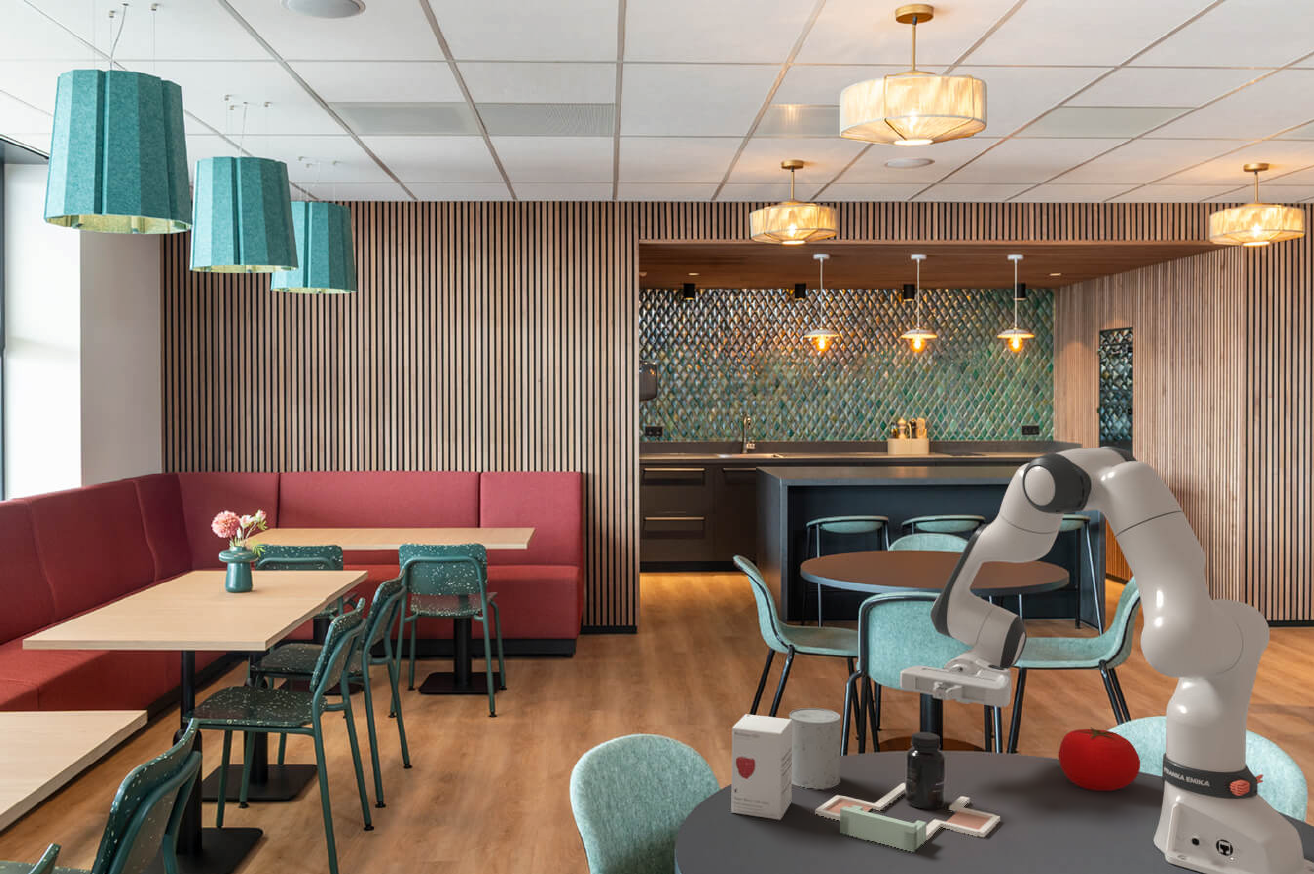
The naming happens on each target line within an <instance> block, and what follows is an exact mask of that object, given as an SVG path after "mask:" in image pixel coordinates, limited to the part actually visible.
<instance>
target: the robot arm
mask: <svg viewBox="0 0 1314 874" xmlns="http://www.w3.org/2000/svg"><path fill="white" fill-rule="evenodd" d="M1091 511H1099V512H1100V513H1101V514H1102V515H1103V516H1104V518H1105V519H1106V520H1107V522H1108V525H1109V526H1110V530H1111V531H1112V533H1113V535H1114V538H1115V539H1116V542H1117V544H1118V546H1119V548H1120V550H1121V552H1122V554H1123V555H1124V558H1125V561H1126V563H1127V564H1128V568H1129V570H1130V572H1131V573H1132V576H1133V578H1134V580H1135V584H1136V585H1137V586H1136V587H1137V589H1138V594H1139V598H1140V604H1141V608H1142V613H1143V628H1142V632H1141V634H1140V648H1141V652H1142V654H1143V657H1144V659H1145V660H1146V662H1147V663H1148V664H1149V665H1150V667H1151V668H1153V670H1155V671H1156V672H1158V673H1159V674H1161V675H1163V676H1166V677H1169V678H1173V679H1178V680H1177V684H1176V687H1175V689H1174V692H1173V694H1172V696H1171V698H1170V699H1169V701H1168V702H1167V705H1166V716H1165V717H1166V719H1165V720H1166V721H1165V722H1166V723H1165V725H1166V726H1165V730H1166V731H1165V753H1163V757H1162V784H1163V788H1164V790H1163V797H1162V806H1161V811H1160V817H1159V821H1158V825H1157V828H1156V831H1155V834H1154V836H1153V843H1154V845H1155V846H1156V847H1157V848H1158V849H1159V850H1160V851H1161V852H1162V853H1163V854H1164V858H1165V861H1166V862H1168V863H1169V864H1172V865H1175V866H1177V867H1178V866H1179V867H1182V868H1186V869H1188V870H1193V871H1197V872H1199V873H1201V874H1202V873H1203V874H1314V862H1312V861H1310V860H1308V859H1306V858H1305V857H1304V851H1303V844H1302V840H1301V838H1300V834H1299V831H1298V830H1297V828H1296V827H1295V826H1294V825H1293V824H1291V823H1290V822H1289V821H1288V820H1287V819H1286V818H1285V817H1284V816H1283V815H1281V813H1279V811H1277V810H1276V809H1275V808H1274V807H1273V806H1272V805H1271V804H1270V803H1269V802H1267V800H1266V799H1264V798H1263V797H1262V795H1260V793H1258V791H1259V790H1258V789H1259V787H1258V784H1261V783H1263V782H1264V780H1263V777H1264V775H1263V774H1261V773H1260V774H1258V775H1256V776H1255V774H1254V773H1252V771H1251V770H1250V767H1249V766H1248V764H1246V761H1247V759H1246V757H1247V753H1246V752H1247V724H1248V723H1247V721H1248V712H1249V707H1250V702H1251V698H1252V693H1253V689H1254V685H1255V681H1256V676H1257V673H1258V672H1257V671H1258V668H1259V664H1260V661H1261V658H1262V656H1263V654H1264V652H1265V651H1266V649H1267V647H1268V645H1269V642H1270V638H1271V637H1270V636H1271V633H1270V632H1271V631H1270V628H1269V624H1268V622H1267V620H1266V618H1265V617H1264V615H1263V614H1262V613H1261V612H1260V611H1259V610H1258V609H1257V608H1256V607H1254V606H1252V605H1250V604H1248V603H1246V602H1243V601H1237V600H1233V599H1226V598H1225V599H1224V598H1220V599H1219V598H1217V599H1212V598H1211V597H1210V593H1209V589H1208V585H1207V580H1206V574H1205V567H1206V563H1207V557H1206V554H1205V553H1206V552H1205V551H1204V549H1203V547H1202V546H1201V543H1200V542H1199V540H1198V538H1197V536H1196V533H1195V532H1194V530H1193V528H1192V526H1191V524H1190V523H1189V520H1188V518H1187V517H1186V515H1185V512H1184V511H1183V509H1182V507H1181V505H1180V504H1179V502H1178V500H1177V498H1176V497H1175V495H1174V494H1173V492H1172V491H1171V489H1170V488H1169V486H1168V484H1166V482H1165V481H1164V479H1163V478H1162V477H1161V476H1160V474H1158V471H1156V470H1155V468H1154V467H1153V466H1151V465H1150V464H1148V463H1147V462H1144V461H1139V460H1137V459H1136V457H1135V456H1134V454H1131V452H1129V451H1128V450H1126V449H1123V448H1119V447H1115V446H1101V447H1091V448H1090V447H1089V448H1081V447H1080V448H1079V447H1077V448H1071V449H1065V450H1061V451H1058V452H1048V453H1046V454H1043V455H1041V456H1038V457H1036V458H1034V459H1033V460H1031V461H1030V462H1027V463H1025V464H1023V465H1021V466H1019V468H1018V469H1017V470H1016V472H1015V473H1014V475H1013V477H1012V479H1011V481H1010V483H1009V484H1008V487H1007V489H1006V491H1005V494H1004V496H1003V499H1002V502H1001V505H1000V508H999V512H998V514H997V516H996V517H995V519H994V520H993V521H992V522H991V523H987V524H982V525H981V526H980V527H978V528H977V529H976V530H975V531H974V532H973V534H972V535H971V537H970V539H969V540H968V542H967V544H966V545H965V547H964V548H963V551H962V553H961V554H960V556H959V559H958V560H957V562H956V564H955V566H954V568H953V569H952V572H951V573H950V576H949V577H948V580H947V582H946V583H945V585H944V587H943V589H942V590H941V592H940V594H939V595H938V596H937V598H936V599H935V600H934V602H933V605H932V606H931V607H932V608H931V611H930V615H929V616H930V619H931V622H932V624H933V626H934V629H935V630H936V632H937V633H938V634H941V635H944V636H946V637H949V638H951V639H953V640H954V639H955V640H957V641H959V642H961V643H963V644H965V645H967V646H969V647H971V649H968V650H966V651H965V652H964V653H962V654H960V655H957V656H956V657H954V658H952V659H950V660H949V661H947V662H946V663H945V665H944V666H943V668H939V667H933V666H927V665H914V666H913V665H912V666H909V667H907V668H904V669H902V670H901V671H900V672H899V674H900V675H899V685H900V688H901V690H904V691H909V692H915V693H921V694H924V695H925V694H926V695H932V698H934V699H939V700H944V701H950V700H954V701H956V702H957V703H961V704H967V705H969V704H974V703H975V704H979V705H980V704H981V705H986V706H990V707H991V706H992V707H996V708H1005V707H1007V706H1009V705H1010V702H1011V698H1012V686H1013V685H1012V684H1013V683H1012V671H1011V670H1010V669H1011V668H1013V667H1014V666H1015V665H1017V663H1018V661H1019V660H1020V658H1021V656H1022V654H1023V651H1024V649H1025V646H1026V643H1027V636H1028V634H1027V629H1026V627H1025V623H1024V621H1023V619H1022V617H1021V616H1020V615H1018V614H1016V613H1013V612H1011V611H1009V610H1008V609H1005V608H1003V607H1001V606H1000V605H999V606H998V605H996V604H994V603H992V602H989V601H988V600H986V599H983V598H981V597H980V596H977V595H975V594H974V593H973V592H972V591H971V589H970V588H971V586H972V584H973V583H974V580H975V578H976V576H977V574H978V572H979V571H980V568H981V567H982V565H983V564H984V563H987V562H1004V563H1012V564H1013V563H1014V564H1016V563H1017V564H1019V563H1029V562H1034V561H1036V560H1039V559H1040V558H1042V557H1044V556H1046V555H1048V553H1049V552H1050V551H1051V550H1052V547H1053V546H1054V544H1055V541H1056V539H1057V537H1058V535H1059V531H1060V527H1061V526H1062V523H1063V522H1062V521H1063V518H1064V515H1065V514H1071V513H1075V512H1076V513H1077V512H1091Z"/></svg>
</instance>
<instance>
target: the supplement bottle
mask: <svg viewBox="0 0 1314 874" xmlns="http://www.w3.org/2000/svg"><path fill="white" fill-rule="evenodd" d="M910 745H911V747H910V748H909V749H908V750H907V751H906V753H905V782H904V783H905V793H904V796H905V801H906V803H907V804H908V805H909V804H910V806H911V805H912V806H911V807H913V806H914V808H916V807H918V808H917V809H920V808H924V809H923V810H937V809H936V808H938V809H941V808H942V807H944V806H945V804H946V756H945V754H944V753H943V752H942V750H940V749H941V737H940V735H938V734H935V733H933V732H927V731H924V732H923V731H920V732H919V731H917V732H914V733H912V734H911V742H910ZM940 807H941V808H940Z"/></svg>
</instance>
